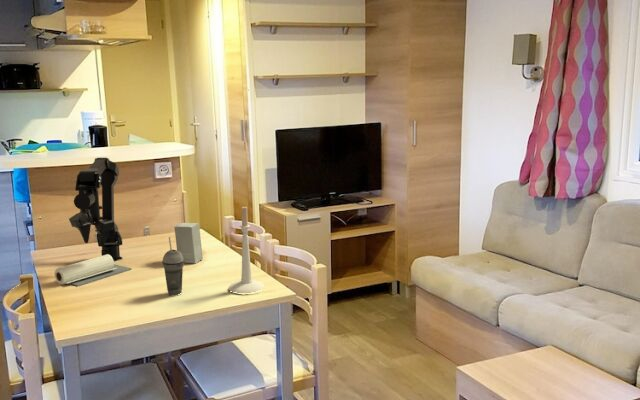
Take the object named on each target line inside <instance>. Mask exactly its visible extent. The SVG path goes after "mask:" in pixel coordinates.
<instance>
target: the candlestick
mask: <svg viewBox="0 0 640 400" xmlns="http://www.w3.org/2000/svg"><path fill="white" fill-rule="evenodd" d="M248 217H249V216H248V206H245V205H244V206H242V207H241V225H240V226H239V227H240V229H241V230H240V231H241V232H242V238H241V239H242V242H241V243H242V246H241V248H242V249H241V280H238V281H234V282H233V283H231V284H230V285H229V286H228V291H229V290H230V291H232V292H237V293H251V292H256V291H258V290H261V289H262V288H263V287H264V285H265V284H264V283H263V282H261V281H258V280H254V279H252V278H253V277H252V267H251V266H252V265H251V258H250V257H251V256H250V255H251V254H250V246H249V245H250V244H249V235H248V232H249V231H250V229H249V228H250V227H251V225H250V224H248V223H249V222H248V221H249V218H248Z"/></svg>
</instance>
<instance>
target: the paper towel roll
mask: <svg viewBox="0 0 640 400" xmlns="http://www.w3.org/2000/svg"><path fill="white" fill-rule="evenodd" d="M114 264H115V261H113V258H112V256H110V255H108V254H107V255H103V256H102V255H100V256H97V257H94V258H90V259H86V260H82V261H79V262H76V263H72V264H69V265H65V266H62V267H58V268H56V269H55V270H54V278H55V281H56V283H58V284H59V285H61V286H62V285H63V286H64V285H66V284H67V283H71V282H74V281H77V280H80V279H84V278H87V277H90V276H93V275H97V274H100V273H103V272H106V271H110V270H113V269H116V268H113V267H114Z"/></svg>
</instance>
